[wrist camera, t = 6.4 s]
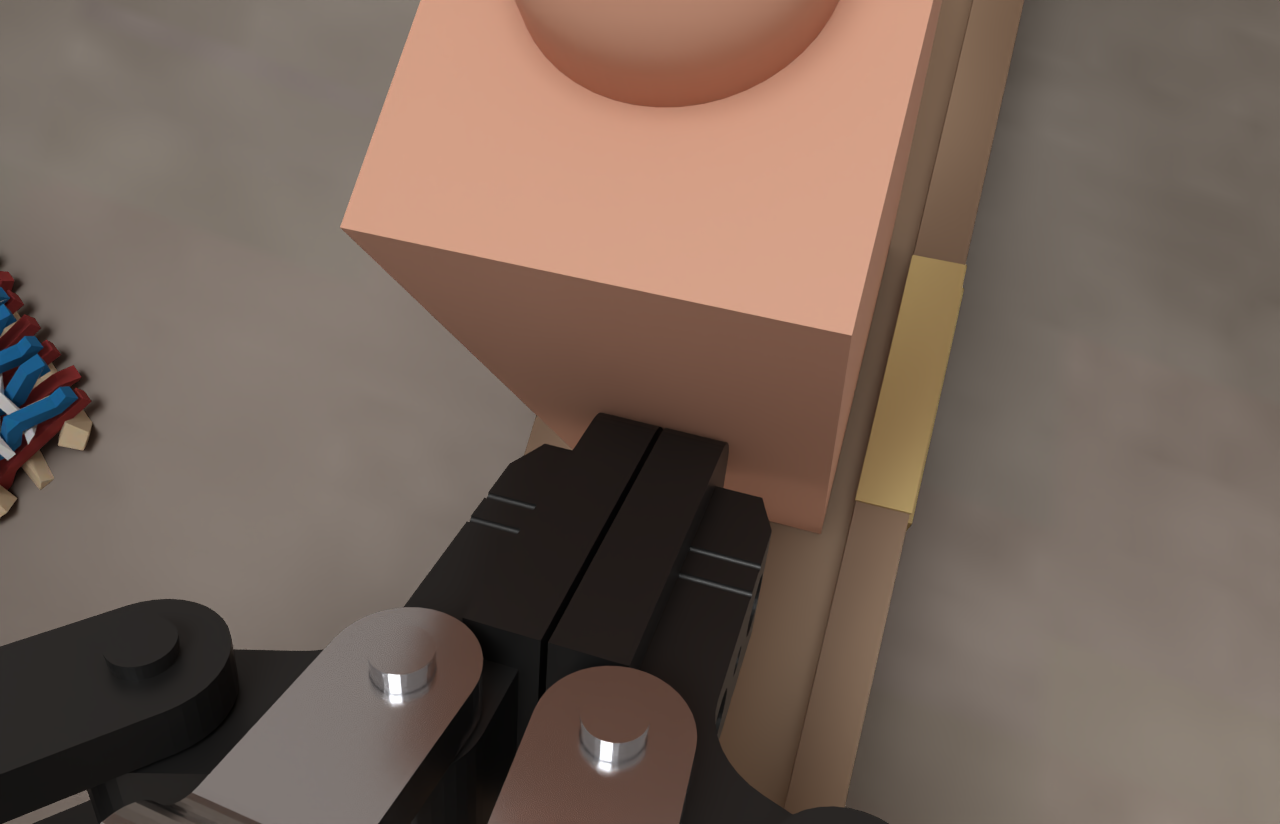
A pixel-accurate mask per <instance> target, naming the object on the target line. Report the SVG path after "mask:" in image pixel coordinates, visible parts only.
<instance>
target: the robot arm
mask: <svg viewBox="0 0 1280 824" xmlns="http://www.w3.org/2000/svg"><path fill="white" fill-rule="evenodd" d="M728 454H729V445H728V443H726V442H722V441H718V440H714V439H710V438H706V437H702V436H697V435H693V434H689V433H685V432H681V431H677V430H673V429H668V428H665V429H664V430H663V429H662V427H659V426H655V425H651V424H647V423H643V422H638V421H634V420H630V419H626V418H622V417H618V416H614V415H609V414H605V413H601V412H600V413H598V414H597V415H596V416H595V417H594V419H593V420H592V422H591V423H590V425H589V426H588V428H587V429H586V431H585V432H584V434H583V435H582V437H581V438H580V440H579V441H578V443H577V444H576V446H575V448H574V449H573V450H569V449H565V448H561V447H557V446H553V445H549V444H543V445H541V446H540V447H538V448H536V449H535V450H533V451H531V452H529V453H528V454H526V455H524V456H522V457H521V458H519V459H517V460H515V461H514V462H512V463H510V464H509V465H508V467H507V468H506V469H505V471H504V472H503V473H502V475H501V476H500V478H499V479H498V480H497V482H496V483H495V484H494V486H493V487H492V488H491V490H490V491H489V493H488V497H487V498H484V499H483V501H482V502H481V503H480V505H479V506H478V507H477V509H476V510H475V511H474V513H473V514H472V515H471V520H470V522H466V524H465V525H464V526H463V528H462V529H461V530H460V532H459V533H458V534H457V536H456V537H455V538H454V540H453V541H452V542H451V544H450V545H449V547H448V548H447V549H446V551H445V552H444V553H443V555H442V556H441V557H440V559H439V560H438V561H437V563H436V564H435V565H434V567H433V568H432V570H431V571H430V572H429V574H428V575H427V576H426V578H425V579H424V580H423V582H422V583H421V584H420V586H419V587H418V588H417V590H416V591H415V593H414V594H413V595H412V597H411V598H410V599H409V601H408V602H407V603H406V605H405V606H404V607H403V608H393V609H388V610H384V611H379V612H376V613H374V614H371V615H368V616H365V617H364V618H362V619H360V620H358V621H356V622H354V623H352V624H351V625H349V626H348V627H346V628H345V629H344V630H343V631H341V632H340V633H339V634H338V635H337V636H336V637H335V638H334V639H333V640H332V641H331V642H330V643H329V645H328V646H327V647H326V648H325V649H324V650H316V651H275V650H233V645H232V639H231V635H230V631H229V628H228V626H227V624H226V623H225V621H224V620H223V618H221V617H220V616H219V615H218V614H217V613H216V612H215V611H213V610H211V609H210V608H208V607H206V606H203V605H201V604H198V603H195V602H190V601H185V600H176V599H161V600H151V601H144V602H139V603H135V604H132V605H128V606H124V607H121V608H118V609H115V610H112V611H109V612H106V613H103V614H100V615H97V616H93V617H90V618H87V619H84V620H81V621H78V622H75V623H72V624H69V625H66V626H63V627H60V628H56V629H53V630H50V631H47V632H44V633H41V634H38V635H35V636H32V637H29V638H26V639H23V640H19V641H16V642H13V643H10V644H7V645H4V646H1V647H0V824H2V823H5V822H7V821H10V820H12V819H15V818H17V817H20V816H22V815H25V814H27V813H30V812H32V811H35V810H37V809H40V808H42V807H45V806H47V805H50V804H52V803H55V802H57V801H60V800H62V799H64V798H67V797H69V796H72V795H74V794H77V793H79V792H82V791H84V790H87V791H88V794H89V797H90V801H87V802H85V803H82V804H80V805H77V806H75V807H72V808H70V809H68V810H65V811H63V812H60V813H58V814H55V815H53V816H50V817H48V818H45V819H43V820H41V821H38V822H36V823H33V824H888V823H887V822H885V821H883V820H882V819H880V818H877V817H875V816H873V815H870V814H868V813H865V812H862V811H858V810H855V809H851V808H844V807H835V806H829V807H816V808H811V809H806V810H803V811H800V812H798V813H795V814H791V813H790V812H788V811H787V810H785V809H784V808H782V807H781V806H779V805H778V804H776V803H775V802H773V801H772V800H770V799H769V798H767V797H766V796H764V795H763V794H761V793H760V792H759V791H757V790H756V789H755V788H753V787H752V786H751V785H749V784H748V783H747V782H746V781H745V780H744V779H743V778H742V777H741V776H740V775H739V774H738V773H737V771H736V770H735V769H734V767H733V766H732V765H731V763H730V762H729V761H728V759H727V757H726V755H725V753H724V752H723V750H722V747H721V745H720V742H719V738H720V735H721V732H722V729H723V725H724V722H725V719H726V715H727V712H728V709H729V706H730V702H731V698H732V696H733V692H734V689H735V686H736V683H737V679H738V676H739V672H740V668H741V666H742V663H743V660H744V656H745V653H746V650H747V646H748V643H749V640H750V637H751V633H752V629H753V624H754V619H755V614H756V609H757V604H758V599H759V594H760V589H761V583H762V578H763V573H764V568H765V563H766V558H767V553H768V548H769V543H770V538H771V533H772V530H771V526H770V523H769V519H768V516H767V513H766V509H765V506H764V502H763V499H762V498H761V497H757V496H753V495H749V494H745V493H741V492H737V491H733V490H729V489H725V488H723V487H724V480H725V474H726V468H727V462H728Z"/></svg>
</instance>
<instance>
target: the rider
mask: <svg viewBox="0 0 1280 824" xmlns="http://www.w3.org/2000/svg"><path fill="white" fill-rule="evenodd" d="M941 4H942V0H421V1H420V4H419V7H418V10H417V12H416V15H415V18H414V21H413V24H412V27H411V29H410V32H409V35H408V38H407V41H406V43H405V46H404V49H403V52H402V55H401V58H400V60H399V63H398V66H397V69H396V72H395V74H394V77H393V80H392V83H391V86H390V89H389V91H388V94H387V97H386V100H385V103H384V105H383V108H382V111H381V114H380V117H379V120H378V122H377V125H376V128H375V131H374V134H373V136H372V139H371V142H370V145H369V148H368V151H367V153H366V156H365V159H364V162H363V165H362V167H361V170H360V173H359V176H358V179H357V181H356V184H355V187H354V190H353V193H352V196H351V198H350V201H349V204H348V207H347V210H346V212H345V215H344V218H343V221H342V224H341V227H340V228H341V229H342V230H343V231H344V232H345V233H347V234H348V235H349V236H350V237H351V238H352V239H353V240H354V241H355V242H356V243H357V244H358V245H359V246H360V247H361V248H362V249H363V250H364V251H365V252H366V253H367V254H369V255H370V256H371V257H372V258H373V259H374V260H375V261H376V262H377V263H378V264H379V265H380V266H381V267H382V268H383V269H384V270H385V271H386V272H387V273H388V274H389V275H390V276H392V277H393V278H394V279H395V280H396V281H397V282H398V283H399V284H400V285H401V286H402V287H403V288H404V289H405V290H406V291H407V292H408V293H409V294H410V295H411V296H412V297H414V298H415V299H416V300H417V301H418V302H419V303H420V304H421V305H422V306H423V307H424V308H425V309H426V310H427V311H428V312H429V313H430V314H431V315H432V316H433V317H434V318H435V319H437V320H438V321H439V322H440V323H441V324H442V325H443V326H444V327H445V328H446V329H447V330H448V331H449V332H450V333H451V334H452V335H453V336H454V337H455V338H456V339H457V340H459V341H460V342H461V343H462V344H463V345H464V346H465V347H466V348H467V349H468V350H469V351H470V352H471V353H472V354H473V355H474V356H475V357H476V358H477V359H478V360H479V361H480V362H482V363H483V364H484V365H485V366H486V367H487V368H488V369H489V370H490V371H491V372H492V373H493V374H494V375H495V376H496V377H497V378H498V379H499V380H500V381H501V382H502V383H504V384H505V385H506V386H507V387H508V388H509V389H510V390H511V391H512V392H513V393H514V394H515V395H516V396H517V397H518V398H519V399H520V400H521V401H522V402H523V403H524V404H526V405H527V406H528V407H529V408H530V409H531V410H532V411H533V412H534V413H535V414H536V415H537V416H538V417H539V418H540V419H541V420H542V421H543V422H544V423H545V424H546V425H547V426H549V427H550V428H551V429H552V430H553V431H554V432H555V433H556V434H557V435H558V436H559V437H560V438H561V439H562V440H563V441H564V442H565V443H566V444H567V445H568V446H569V447H571V448H572V449H574V448H575V446H576V444H577V443H578V441H579V440H580V438H581V437H582V435H583V434H584V432H585V431H586V429H587V428H588V426H589V425H590V423H591V422H592V420H593V419H594V417H595V416H596V415H597V414H598V413H600V412H601V413H605V414H609V415H614V416H618V417H622V418H626V419H630V420H634V421H638V422H643V423H647V424H651V425H655V426H659V427H662V429H663V430H664V429H665V428H668V429H673V430H677V431H681V432H685V433H689V434H693V435H697V436H702V437H706V438H710V439H714V440H718V441H722V442H726V443H728V445H729V454H728V462H727V468H726V474H725V480H724V487H723V488H725V489H729V490H733V491H737V492H741V493H745V494H749V495H753V496H757V497H761V498H762V499H763V502H764V506H765V509H766V513H767V516H768V519H769V521H771V522H775V523H779V524H783V525H786V526H790V527H794V528H798V529H802V530H806V531H810V532H814V533H818V534H821V531H822V527H823V523H824V519H825V515H826V511H827V506H828V502H829V498H830V494H831V490H832V485H833V481H834V477H835V473H836V469H837V465H838V460H839V456H840V452H841V448H842V444H843V439H844V435H845V431H846V427H847V423H848V419H849V414H850V410H851V406H852V402H853V398H854V393H855V389H856V385H857V381H858V377H859V373H860V368H861V364H862V360H863V356H864V352H865V348H866V343H867V339H868V335H869V331H870V327H871V322H872V318H873V314H874V310H875V306H876V302H877V297H878V293H879V289H880V285H881V281H882V276H883V272H884V268H885V264H886V260H887V256H888V251H889V247H890V243H891V238H892V234H893V229H894V224H895V220H896V215H897V210H898V205H899V201H900V196H901V191H902V187H903V182H904V177H905V173H906V168H907V163H908V159H909V154H910V149H911V145H912V140H913V135H914V130H915V126H916V121H917V116H918V112H919V107H920V102H921V98H922V93H923V88H924V84H925V79H926V74H927V69H928V65H929V60H930V55H931V51H932V46H933V41H934V37H935V32H936V27H937V23H938V18H939V13H940V9H941Z"/></svg>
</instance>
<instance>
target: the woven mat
mask: <svg viewBox="0 0 1280 824" xmlns="http://www.w3.org/2000/svg"><path fill="white" fill-rule="evenodd" d="M13 284H14V279H13V278H12V276H11V275H10V273H9V272H4V271H0V517H1V516H3V515H4V514H6V513H7V512H8V510H9V509H10V508H11V506H12V505H13V504H14V502H15V501H16V499H17V498H16V497H15V496H14V495H12V494H11V493H10V492H9V491H7V490H8V489H9V488H10V487H11V486H12V484H13V480H14V477H15V474H16V471H17V470H18V469H19V468H20V467H21V466H22V468H23V469H24V471H25V472H26V473H27V475H28V476H29V477H30V478H31V479H32V481H33V482H34V483H35V484H36V486H37V487H38V488H39V489H40V490H41V489H42V488H44V487H45V486H46V485H47V484H48V483H50V482H51V481H52V480H53V479H54V477H53V475H52V473H51V471H50V469H49V467H48V465H47V463H46V461H45V459H44V457H43V455H42V453H41V451H40V448H42V447H43V446H44V445H45V444H46V443H47V442H48V441H49V440H50V439H51V438H52V437H54V436H55V435H56V434H57V433H58V432H59V431H60V434H59V442H58V446H63V447H68V448H73V449H78V450H84V448H85V447H86V445H87V443H88V440H89V436H90V432H91V427H92V423H93V422H91V421H90V419H89V418H88V416H87V415H86V413H85V412H84V410H83V409H84V408H85V407H86V406H87V405H88V404H89V403H90V402H92V401H91V400H90V398H89V397H88V396H87V394H86V393H85V392H84V391H83V390H80V389H78V388H75V389H74V390H72V389H71V388H70V386H71V385H73V384H75V383H77V382H78V381H80V379H81V376H80V374H79V373H78V371H77V370H76V368H75V367H74V365H73V366H70V367H68V368H66V369H63V370H61V371H59V372H58V371H57V370H56V368H55V367H54V365H53V364H52V362H53V361H54V360H55V359H56V358H58V357H59V356H60V355H61V354H60V352H59V351H58V350H57V348H56V347H55V346H54V344H53V343H51V342H50V341H48V340H45V341H44V342H42V343H40V342H39V341H38V339H37V338H36V337H35V336H34V335H35V334H36V333H37V332H38V331H39V330H40V329H41V327H40V326H39V324H38V323H37V321H36V319H35V318H33V317H30V316H28V315H25V314H24V315H23V316H22V317H20V316H19V314H18V313H17V310H19V309H20V308H21V307H22V306H23V305H24V304H23V302H22V301H21V299H20V297H19V296H18V295H17V294H15V293H13V292H12V287H13Z"/></svg>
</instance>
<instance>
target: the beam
mask: <svg viewBox="0 0 1280 824" xmlns="http://www.w3.org/2000/svg"><path fill="white" fill-rule="evenodd" d="M1023 3H1024V0H942V4H941V9H940V13H939V18H938V23H937V27H936V32H935V37H934V41H933V46H932V51H931V55H930V60H929V65H928V69H927V74H926V79H925V84H924V88H923V93H922V98H921V102H920V107H919V112H918V116H917V121H916V126H915V130H914V135H913V140H912V145H911V149H910V154H909V159H908V163H907V168H906V173H905V177H904V182H903V187H902V191H901V196H900V201H899V205H898V210H897V215H896V220H895V224H894V229H893V234H892V238H891V243H890V247H889V251H888V256H887V260H886V264H885V268H884V272H883V276H882V281H881V285H880V289H879V293H878V297H877V302H876V306H875V310H874V314H873V318H872V322H871V327H870V331H869V335H868V339H867V343H866V348H865V352H864V356H863V360H862V364H861V368H860V373H859V377H858V381H857V385H856V389H855V393H854V398H853V402H852V406H851V410H850V414H849V419H848V423H847V427H846V431H845V435H844V439H843V444H842V448H841V452H840V456H839V460H838V465H837V469H836V473H835V477H834V481H833V485H832V490H831V494H830V498H829V502H828V506H827V511H826V515H825V519H824V523H823V527H822V531H821V534H818V533H814V532H810V531H806V530H802V529H798V528H794V527H790V526H786V525H783V524H779V523H775V522H771V521H769V523H770V526H771V530H772V533H771V538H770V543H769V548H768V553H767V558H766V563H765V568H764V573H763V578H762V583H761V589H760V594H759V599H758V604H757V609H756V614H755V619H754V624H753V629H752V633H751V637H750V640H749V643H748V646H747V650H746V653H745V656H744V660H743V663H742V666H741V668H740V672H739V676H738V679H737V683H736V686H735V689H734V692H733V696H732V698H731V702H730V706H729V709H728V712H727V715H726V719H725V722H724V725H723V729H722V732H721V735H720V738H719V742H720V745H721V747H722V750H723V752H724V753H725V755H726V757H727V759H728V761H729V762H730V763H731V765H732V766H733V767H734V769H735V770H736V771H737V773H738V774H739V775H740V776H741V777H742V778H743V779H744V780H745V781H746V782H747V783H748V784H749V785H751V786H752V787H753V788H755V789H756V790H757V791H759V792H760V793H761V794H763V795H764V796H766V797H767V798H769V799H770V800H772V801H773V802H775V803H776V804H778V805H779V806H781V807H782V808H784V809H785V810H787V811H788V812H790V813H791V814H795V813H798V812H800V811H803V810H806V809H811V808H816V807H829V806H835V807H845V803H846V798H847V794H848V789H849V785H850V780H851V776H852V771H853V767H854V762H855V758H856V753H857V749H858V744H859V740H860V735H861V731H862V726H863V722H864V717H865V713H866V709H867V704H868V700H869V695H870V691H871V686H872V682H873V677H874V673H875V668H876V664H877V659H878V655H879V650H880V646H881V641H882V637H883V632H884V628H885V623H886V619H887V614H888V610H889V605H890V601H891V596H892V592H893V587H894V583H895V578H896V574H897V569H898V565H899V560H900V556H901V551H902V547H903V542H904V538H905V533H906V531H907V529H908V528H909V527H910V526H911V524H912V521H913V517H914V512H915V508H916V503H917V499H918V494H919V490H920V485H921V481H922V476H923V472H924V467H925V463H926V458H927V454H928V449H929V444H930V440H931V435H932V431H933V426H934V422H935V417H936V413H937V408H938V404H939V399H940V395H941V390H942V386H943V381H944V377H945V372H946V368H947V363H948V359H949V354H950V350H951V345H952V341H953V336H954V332H955V327H956V323H957V318H958V314H959V309H960V305H961V300H962V296H963V291H964V288H962V286H963V281H964V277H965V272H966V268H967V265H965V264H966V259H967V255H968V250H969V246H970V241H971V237H972V232H973V228H974V223H975V219H976V214H977V210H978V205H979V201H980V197H981V192H982V188H983V183H984V179H985V174H986V170H987V165H988V161H989V156H990V152H991V147H992V143H993V138H994V134H995V129H996V125H997V120H998V116H999V111H1000V107H1001V102H1002V98H1003V93H1004V89H1005V84H1006V80H1007V75H1008V71H1009V66H1010V62H1011V57H1012V53H1013V48H1014V44H1015V39H1016V35H1017V30H1018V26H1019V21H1020V17H1021V12H1022V8H1023ZM543 444H549V445H553V446H557V447H561V448H565V449H569V450H573V449H572V448H571V447H569V446H568V445H567V444H566V443H565V442H564V441H563V440H562V439H561V438H560V437H559V436H558V435H557V434H556V433H555V432H554V431H553V430H552V429H551V428H550V427H549V426H547V425H546V424H545V423H544V422H543V421H542V420H541V419H540V418H539V417H538V416H537V415H536V418H535V421H534V424H533V427H532V431H531V434H530V437H529V441H528V444H527V447H526V451H525V454H524V455H526V454H528V453H529V452H531V451H533V450H535V449H536V448H538V447H540V446H541V445H543Z"/></svg>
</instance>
